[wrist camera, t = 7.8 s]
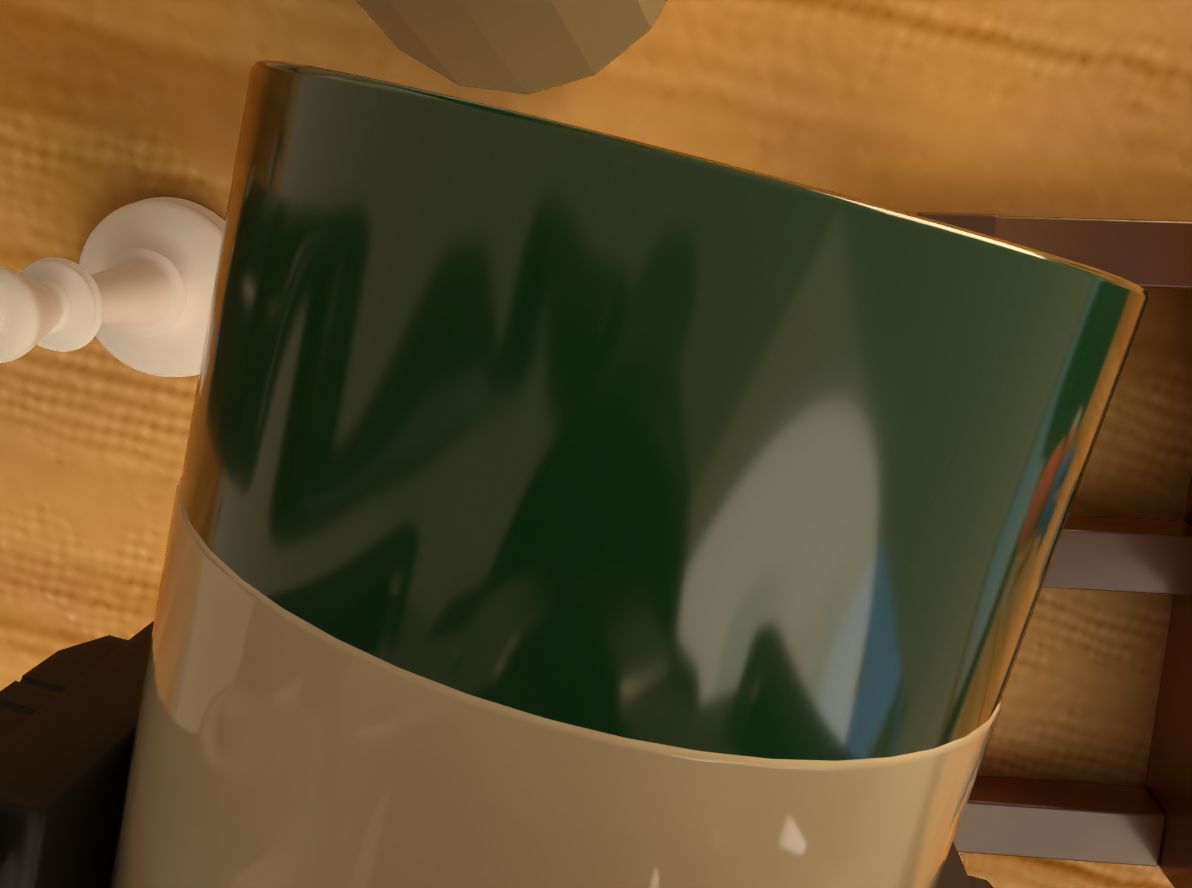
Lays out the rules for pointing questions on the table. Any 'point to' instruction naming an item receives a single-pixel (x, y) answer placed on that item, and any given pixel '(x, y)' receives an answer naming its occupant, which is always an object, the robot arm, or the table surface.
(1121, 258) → the rack
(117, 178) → the table surface
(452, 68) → the squeeze bottle
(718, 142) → the table surface
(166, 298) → the chess piece
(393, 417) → the bottle
